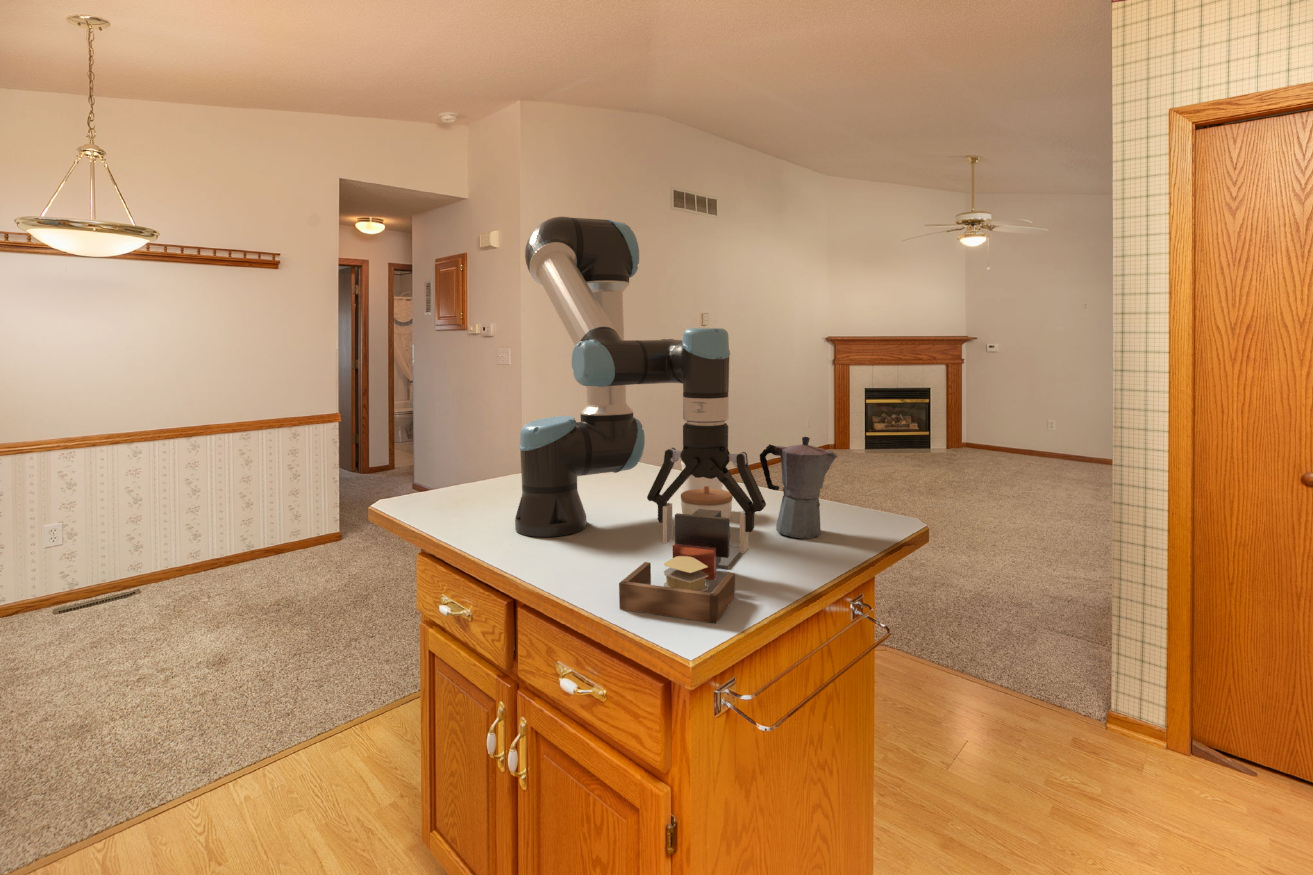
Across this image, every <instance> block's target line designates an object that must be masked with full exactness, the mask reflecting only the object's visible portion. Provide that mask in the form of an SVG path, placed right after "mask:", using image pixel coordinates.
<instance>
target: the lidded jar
mask: <svg viewBox="0 0 1313 875" xmlns="http://www.w3.org/2000/svg"><path fill="white" fill-rule="evenodd" d="M680 500H681V502H680V504H681V512H682V513H681V514H690V515H692V514H693V513H694V512H695V511H697V510H698V509H706V510H718V511H721V517H723V518H731V514H732V507H733V506H732V504H733V496H732V495H731V493H730V492H729V491H728V490H725V489H722V490H720V489H709V486H704V489H692V490H688V491H685V492H683V491H682V493H680Z"/></svg>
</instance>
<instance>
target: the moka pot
mask: <svg viewBox="0 0 1313 875" xmlns="http://www.w3.org/2000/svg"><path fill="white" fill-rule="evenodd" d="M810 439H811V438H810V437H808V436H803V437H801V440H802V444H798V445H789V446H780V445H779V446H778V445H777V446H776V445H773V444H768V445H767V446H766V448H765V449H763V450H762V451H761V453H760V454H759V462H760V464H761V469H762V470H763V476H764V478H765V479H764V480H765V482H766V486H767V489H769V490H773V491H777V492H778V491H779V489H780V486H779V485H774V484H773V481H772V478H771V474H770V469H769V466H768V464H769V463H768V460H767V456H768V455H769V454H772V455H773V456H777V457H780V464H781V465H780V466H781V484H782V485H783V487H782V491H783V494H782V498H781V502H780V508H779V511H778V517H777V522H776V525H775V530H776V531H777V532H778V533H779V534H781V535H784V536H786V537H790V538H797V539H813V538H814V539H815V538H816V537H819V536H820V534H821V513H820V512H821V511H820V506H821V503H820V495H821V494H820V493H821V489H822V488H824V487H823V486H824V481H825V477H826V474H827V472H828V471H829V469H830V467H832V464H833V463H834V460H836V458H838V457H839V455H837V454H836V453H834V451H830V450H827V449H824V448H821V447H817V446H813V445H811V444H809V443H810Z"/></svg>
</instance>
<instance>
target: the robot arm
mask: <svg viewBox="0 0 1313 875" xmlns="http://www.w3.org/2000/svg"><path fill="white" fill-rule="evenodd" d="M639 247H640V246H639V243H638V239H637V237H636V234H635V233H634V230H633V229H632V228H631V227H630V226H629V225H628V224H626V223H625V222H621V221H615V220H612V219H597V218H583V217H582V218H581V217H569V216H556V217H551V218H548V219H547V220H544V221H543V222H541V223H540V224H538V226H536V227H535V228H534V229H533V231H532V232H531V234H530V235H529V237H528V239H527V241H526V245H525V249H524V250H525V252H524V258H525V264H526V266H527V269H528V272H529V273H530V275H531V277H532V279H533V280H534V281H535V282H536V283H538V284H539V285H541V286H542V287H543V289H544V291H545V292H546V294H547V296H548V298H549V300H550V302H551V303H552V306H553V307H554V309H555V311H556V313H557V315H558V317H559V319H560V320H561V323H562V324H563V326H564V328H565V329H566V331H567V333H568V335H569V337H570V339H571V342H572V343H573V345H574V347H573V349H572V354H571V368H572V370H573V371H572V372H573V377H574V379H575V381H576V382H577V383H579V385H581V386H583V387H586V388H585V389H586V392H585V393H586V406H585V407H584V408H583V409H582V410H581V411H580V421H578V422H577V420H576V419H575V416H571V415H561V416H550V417H543V418H540V419H535V420H532V421H529V422H527V423H526V424H524V425H523V426H522V427H521V429H520V432H519V433H520V435H519V447H518V448H519V450H520V452H519V453H520V468H521V470H520V472H521V497H520V500H519V504H518V507H517V512H516V514H515V518H514V525H515V526H514V528H515V531H516V532H517V533H518V534H520V535H524V536H529V537H537V538H538V537H540V538H541V537H542V538H545V537H546V538H547V537H548V538H549V537H550V538H552V537H561V536H568V535H572V534H575V533H579V532H580V531H583V530H585V529H586V527H587V513H586V511H585V508H584V505H583V503H582V500H581V497H580V494H579V490H578V477H582V476H591V475H599V474H608V473H613V474H617V473H620V472H623V471H628V470H632V469H633V468H635V467H636V466H637V465H638V464H639V462H640V460H641V459H642V457H643V453H644V449H645V444H646V443H645V441H646V439H645V438H646V437H645V431H644V429H643V424H642V422H641V421H640V420H639V419H638V418H636V417H634V411H633V409H632V408H631V407H630V406H629V405H628V404H627V390H626V387H627V386H630V385H632V386H633V385H654V384H655V385H657V384H682V419H683V420H684V421H685V423H683V425H682V450H679V449H676V448H675V447H671V448H668V449H667V450H665V451H664V455H663V463H662V464H661V467H660V469H659V471H658V473H657V475H656V477H655V479H654V481H653V484H652V486H651V487H650V490H649V492H648V494H647V496H646V498H647V500H648V502H653V503H655V504H656V505H657V521H658V523H659V524H662V543H663V544H668V543H670V542H671V541H672V540H673V503H672V502H669V501H670V499H671V498H672V497H673V496H674V494H676V493H677V492H678V490H679V489H680V488H681V487H682V486H683V483H684V482H685V481H686V480H687V479H688V477H689V476H690V475H691V474H692V475H693V476H695V478H701V477H705V478H708V479H713V478H715V477H717V478H718V480H719V481H720V482H722V483H723V486H724V487H725V488H726V489H727V490H726V491H728V492H730V493H731V495H732V498H733V499H734V500H735V501H736V502H737V504H738V505H739V506H740V508H741V509H742V510H743V511H741V512H740V513H739V546H740V552H741V554H744V553H746V551H747V549H749V533H752V532H753V531H754V529H755V513H757V512H761V511H763V510H764V509H765V507H766V506H767V503H766V501H765V498H764V497H763V494H762V492H761V490H760V488H759V486H758V483H757V482H756V479H755V477H754V475H753V473H752V471H751V468H750V466H749V461H748V453H747V452H745V451H742V452H740V453H730V451H729V425H728V423H726V422H727V421H728V420H729V388H730V386H729V385H730V356H731V351H730V343H729V339H730V338H729V332H728V331H727V330H726V329H725V328H724V327H723V328H721V327H715V328H714V327H711V328H710V327H701V328H700V327H699V328H695V327H694V328H693V327H692V328H686V329H685V330H684V331H683V334H682V339H674V338H668V339H667V338H664V339H663V338H661V339H653V340H652V339H645V340H643V339H642V340H639V339H638V340H633V339H632V340H631V339H629V340H628V339H627V340H625V330H624V329H625V328H624V324H625V323H624V300H623V299H624V294H623V293H624V291H625V290H626V289H627V288H628V287H629V286H630V278H632V277H634V276H635V275H636V273H637V271H638V269H639V267H638V265H639V264H640V248H639ZM679 459H680V460H681V461H683V463H684V464H685V466H686V467H685V468H684V469H683V471H682V470H681V472H679V474H678V476H677V477H676V478H675V479H674V480H673V481H672V483H670V485H668V487H667V488H666V489H665V490H664V491H663V493H662V494H660V493H661V492H662V490H663V488H664V485H665V484H666V482H667V480H668V478H669V475H670V473H671V471H672V469H673V468H674V465H675V463H676V462H678V461H679ZM730 462H732V464H733V466H734V467H736V468H737V472H738V474H739V475H740V478H741V480H742V483H743V485H744V488H745V489H746V491H747V493H748V495H749V496H748V495H747V494H746V493H745V491H744V490H743V488H742V487H741V486H740V484H738V482H737V481H736V479H735V478H734V476H732V472H731V471H730V469H729V468H728V467H727V466H728V464H729V463H730Z"/></svg>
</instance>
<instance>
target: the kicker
mask: <svg viewBox="0 0 1313 875" xmlns="http://www.w3.org/2000/svg"><path fill="white" fill-rule="evenodd" d="M730 518H731V517H730ZM730 518H723V517H721V511H718V510H706V509H698V510H697V511H695V512H694V513H693V514H692V515H690V514H682V513H679V512H677V513H675V514H674V544H672V559H673V558H674V557H677V556H690V557H692V558H695V559H696V560H698V561H700V562H701V563H703V564H705V565H706V566H708V567H707V568H704V569H701V570H702V571H703V572H705V573H706V574H708V577H706V578H705V581H707V580H708V581H715V580H716V579H717V568H716V566H717V565H718V564H719V563H720V562H721V557H723V558H728V557H729V545H730V524H731V523H730V521H731V520H730Z"/></svg>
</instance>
